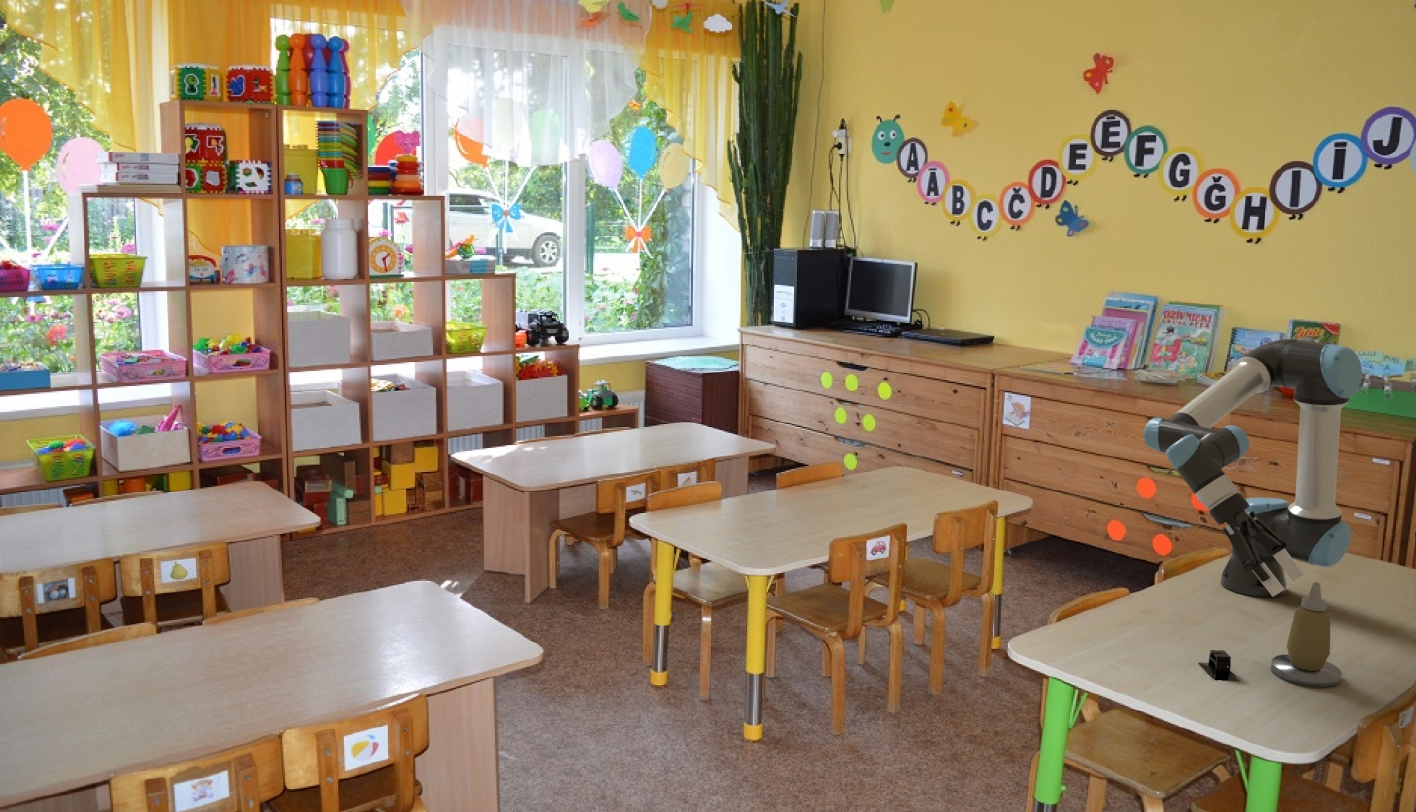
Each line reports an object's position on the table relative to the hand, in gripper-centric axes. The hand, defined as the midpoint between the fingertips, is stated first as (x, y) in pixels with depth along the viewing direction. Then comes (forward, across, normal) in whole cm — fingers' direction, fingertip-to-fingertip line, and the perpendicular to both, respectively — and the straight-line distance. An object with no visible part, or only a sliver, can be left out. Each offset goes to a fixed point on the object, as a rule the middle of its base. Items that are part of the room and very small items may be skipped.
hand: (1289, 585), depth 250 cm
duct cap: (+17, 0, -9) cm, 19 cm away
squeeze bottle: (+15, 0, -8) cm, 17 cm away
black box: (+7, +11, -20) cm, 24 cm away
